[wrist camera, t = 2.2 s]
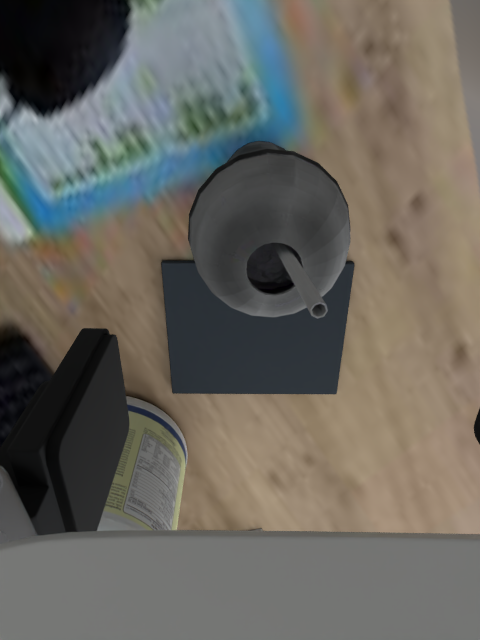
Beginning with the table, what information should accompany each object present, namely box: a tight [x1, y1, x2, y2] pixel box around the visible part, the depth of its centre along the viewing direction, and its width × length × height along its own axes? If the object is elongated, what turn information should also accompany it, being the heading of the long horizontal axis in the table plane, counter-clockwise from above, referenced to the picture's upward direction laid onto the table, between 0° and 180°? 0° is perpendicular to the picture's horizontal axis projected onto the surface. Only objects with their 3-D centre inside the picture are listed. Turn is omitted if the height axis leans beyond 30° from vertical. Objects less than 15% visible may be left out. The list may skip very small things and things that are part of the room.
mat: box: [161, 260, 354, 394], centre depth 36 cm, size 14×12×1 cm
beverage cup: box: [188, 141, 350, 319], centre depth 22 cm, size 7×7×20 cm
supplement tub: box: [97, 396, 187, 531], centre depth 35 cm, size 12×12×17 cm
